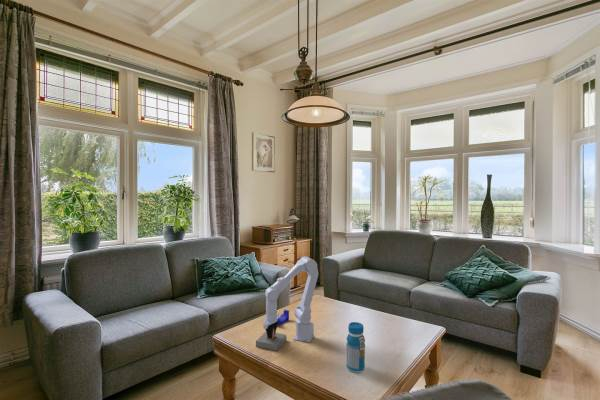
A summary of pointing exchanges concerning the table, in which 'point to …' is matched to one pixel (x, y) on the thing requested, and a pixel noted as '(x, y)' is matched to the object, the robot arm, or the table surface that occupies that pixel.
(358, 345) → the beverage bottle
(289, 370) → the table surface
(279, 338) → the socket block
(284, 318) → the cable clip
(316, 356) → the table surface
